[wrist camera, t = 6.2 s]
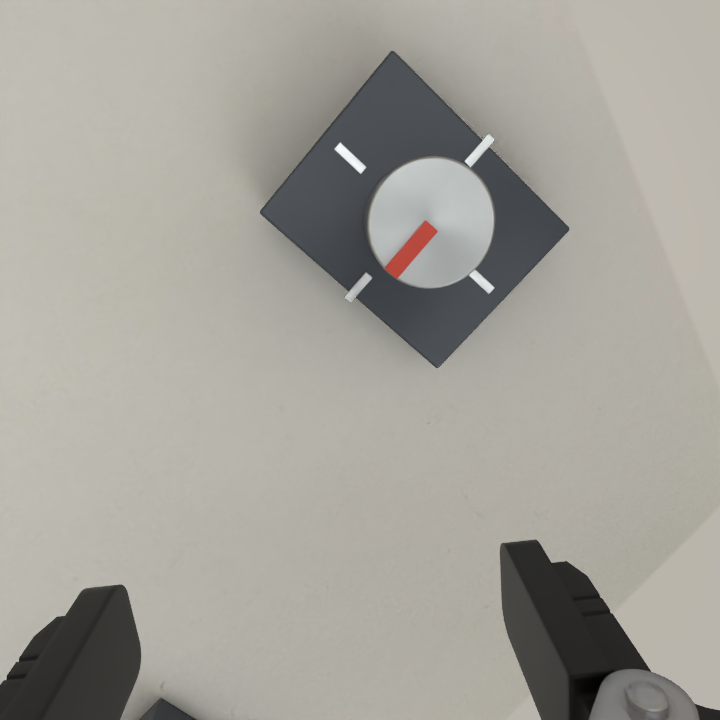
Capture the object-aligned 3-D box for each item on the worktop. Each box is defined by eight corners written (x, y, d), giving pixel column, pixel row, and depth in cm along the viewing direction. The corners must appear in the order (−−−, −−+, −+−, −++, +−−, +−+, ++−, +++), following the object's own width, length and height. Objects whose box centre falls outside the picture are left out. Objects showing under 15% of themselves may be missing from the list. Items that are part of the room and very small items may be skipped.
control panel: (550, 221, 26) (578, 223, 23) (423, 356, 28) (433, 375, 25) (391, 61, 24) (398, 41, 21) (263, 216, 26) (253, 218, 23)
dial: (413, 139, 22) (429, 124, 18) (493, 214, 23) (525, 217, 19) (340, 227, 23) (340, 232, 19) (420, 296, 24) (436, 316, 20)
